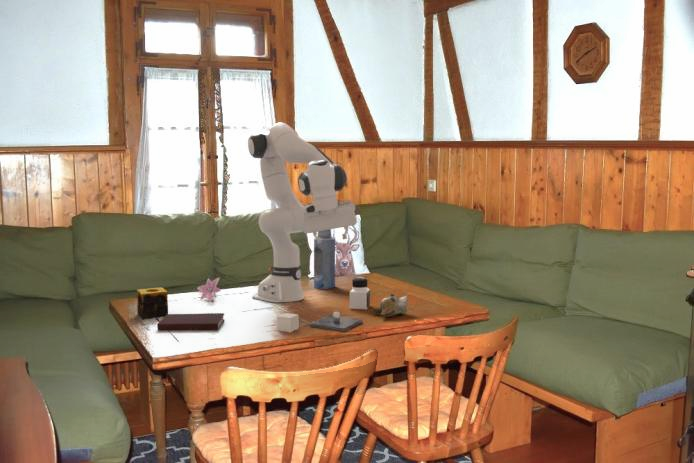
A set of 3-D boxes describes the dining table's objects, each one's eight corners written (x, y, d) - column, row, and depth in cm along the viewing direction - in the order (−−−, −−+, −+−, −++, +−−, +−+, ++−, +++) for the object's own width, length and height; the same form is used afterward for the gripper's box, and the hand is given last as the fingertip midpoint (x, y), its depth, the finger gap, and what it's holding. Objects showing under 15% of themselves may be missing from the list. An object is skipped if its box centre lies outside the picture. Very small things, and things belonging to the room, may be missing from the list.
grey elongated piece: (309, 287, 321) (309, 222, 317) (325, 284, 328) (325, 220, 324) (323, 290, 314) (322, 224, 310) (339, 287, 321) (339, 222, 317)
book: (218, 332, 247) (218, 322, 246) (157, 332, 247) (156, 322, 246) (225, 322, 261) (224, 312, 260) (167, 322, 261) (167, 312, 260)
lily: (197, 299, 302) (191, 283, 297) (218, 287, 306) (213, 271, 301) (208, 311, 294) (202, 295, 289) (230, 298, 298) (225, 283, 293)
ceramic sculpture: (414, 293, 265) (379, 300, 259) (415, 316, 266) (381, 322, 260) (400, 289, 275) (367, 294, 268) (402, 310, 276) (368, 316, 270)
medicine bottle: (367, 309, 277) (367, 280, 275) (349, 309, 278) (349, 279, 277) (370, 305, 284) (370, 276, 282) (352, 305, 285) (352, 276, 284)
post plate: (310, 326, 251) (310, 314, 251) (329, 318, 264) (329, 306, 263) (344, 331, 245) (344, 318, 244) (362, 322, 257) (362, 310, 256)
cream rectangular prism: (277, 330, 247) (277, 316, 246) (285, 326, 251) (285, 312, 251) (290, 332, 244) (290, 317, 243) (298, 328, 249) (298, 314, 248)
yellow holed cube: (141, 320, 262) (140, 294, 261) (136, 314, 271) (135, 289, 270) (169, 316, 267) (168, 291, 266) (163, 311, 276) (162, 286, 275)
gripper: (353, 198, 258) (359, 234, 260) (298, 208, 257) (305, 244, 259) (354, 200, 251) (360, 237, 254) (298, 210, 250) (305, 247, 252)
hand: (332, 241), depth 256 cm, fingers open, 8 cm apart
